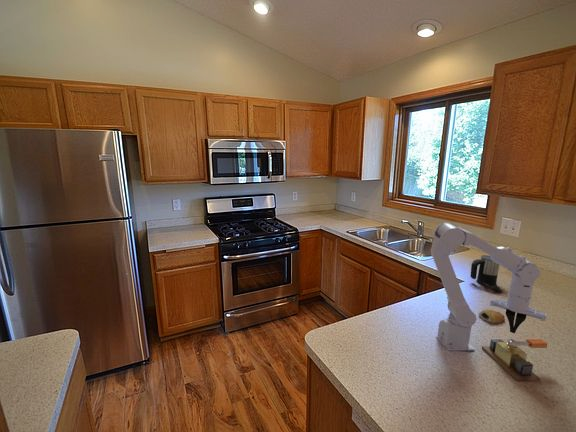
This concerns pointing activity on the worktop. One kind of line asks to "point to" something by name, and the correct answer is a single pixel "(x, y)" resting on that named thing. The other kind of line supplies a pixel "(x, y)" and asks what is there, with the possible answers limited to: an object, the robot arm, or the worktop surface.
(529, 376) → the plank
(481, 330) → the worktop surface
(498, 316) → the pastry
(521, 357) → the valve
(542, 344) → the lever
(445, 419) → the worktop surface
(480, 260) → the milk frother
